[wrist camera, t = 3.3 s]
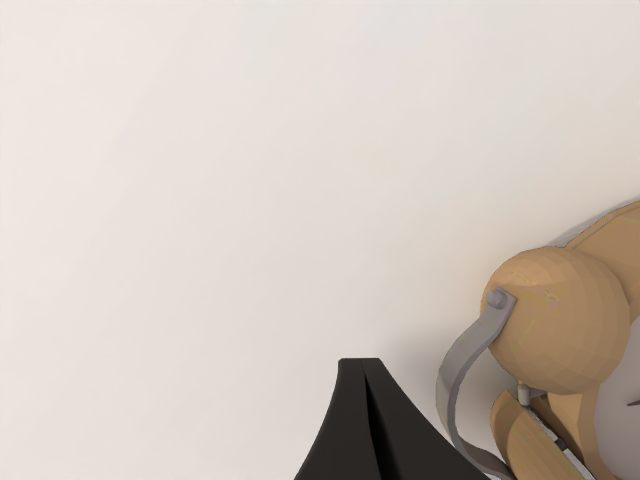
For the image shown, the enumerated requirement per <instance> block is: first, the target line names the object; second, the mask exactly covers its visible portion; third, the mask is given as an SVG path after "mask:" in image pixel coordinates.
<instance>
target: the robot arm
mask: <svg viewBox="0 0 640 480" xmlns="http://www.w3.org/2000/svg"><path fill="white" fill-rule="evenodd" d="M294 480H491V479H490V478H489V477H487V476H486V475H485V474H484V473H483V472H481V471H480V470H479V469H478V468H476V467H475V466H474V465H473V464H472V463H471V462H469V461H468V460H467V459H466V458H465V457H464V456H463V455H462V454H461V453H459V452H458V451H457V450H456V449H455V448H454V447H453V446H452V445H451V444H450V443H449V442H448V441H447V440H446V439H445V438H444V437H443V436H442V435H441V434H440V433H439V432H438V431H437V430H436V429H435V428H434V427H433V426H432V424H431V423H430V422H429V421H428V420H427V419H426V418H425V417H424V416H423V415H422V413H421V412H420V411H419V410H418V409H417V408H416V406H415V405H414V404H413V403H412V402H411V400H410V399H409V398H408V397H407V395H406V394H405V393H404V392H403V390H402V389H401V388H400V387H399V385H398V384H397V383H396V381H395V380H394V378H393V377H392V376H391V374H390V373H389V371H388V370H387V369H386V367H385V366H384V364H383V363H382V361H381V360H380V359H379V358H342V359H340V360H339V361H338V375H337V380H336V385H335V389H334V392H333V395H332V399H331V402H330V405H329V408H328V410H327V413H326V416H325V418H324V421H323V423H322V426H321V428H320V430H319V433H318V435H317V437H316V439H315V441H314V443H313V445H312V447H311V449H310V451H309V453H308V455H307V457H306V459H305V461H304V463H303V464H302V466H301V468H300V470H299V472H298V473H297V475H296V477H295V478H294Z"/></svg>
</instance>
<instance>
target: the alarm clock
mask: <svg viewBox="0 0 640 480" xmlns="http://www.w3.org/2000/svg"><path fill="white" fill-rule="evenodd" d="M487 347H488V348H489V350H490V351H491V353H492V354H493V355H494V357H495V358H496V360H497V361H498V362H499V364H500V365H501V367H503V368H504V369H505V370H506V371H508V372H509V373H510V374H512V375H513V376H514V377H516V378H517V379H518V383H519V384H518V386H517V389H518V393H517V394H518V401H519V402H518V401H517V400H516V399H515V398H514V397H513V396H512V395H511V394H510V393H509V392H508V391H507V390H505V391H504V392H503V393H502V394H500V395H499V397H498V398H497V399H496V401H495V402H494V404H493V407H492V409H491V416H490V421H491V429H492V433H493V436H494V439H495V442H496V445H497V447H498V449H499V451H500V453H501V455H502V457H503V459H504V461H505V462H506V464H507V465H506V464H505V463H504V462H503V461H501V460H500V459H499V458H498V457H497V456H495V455H493V454H492V453H490V452H488V451H486V450H483V449H480V448H477V447H475V446H473V445H471V444H469V443H468V442H466V441H464V440H463V439H462V438H461V437H460V436H459V435H458V432H457V428H456V425H455V404H456V399H457V395H458V390H459V386H460V384H461V382H462V380H463V378H464V376H465V374H466V372H467V370H468V369H469V367H470V366H471V365H472V363H473V362H474V361H475V359H476V358H477V357H478V355H479V354H481V353H482V352H483V351H484V350H485V349H486V348H487ZM520 404H522V405H525V406H526V405H529V406H530V408H531V409H532V410H533V411H534V413H535V414H536V415H537V417H538V418H539V419H540V420H541V422H542V423H543V424H544V425H545V426H546V427H547V428H548V429H550V430H551V431H552V432H553V433H554V434H555V435H556V436H557V437H558V438H559V439H558V440H556V441H555V442H553V441H552V439H551V438H550V437H549V436H548V435H547V434H546V433H545V431H544V430H543V429H542V428H541V427H540V426H539V425H538V424H537V422H536V421H535V420H534V419H533V418H532V417H531V416H530V415H529V413H528V412H527V411H526V410H525V409H524V408H523V407H522V406H521V405H520ZM436 407H437V410H438V413H439V417H440V420H441V422H442V424H443V426H444V428H445V429H446V431H447V433H448V435H449V437H450V438H451V440H452V442H453V444H454V446H455V447H456V449H457V451H458V452H459V453H461V454H462V455H463V456H464V457H465V458H466V459H467V460H468V461H469V462H471V463H472V464H473V465H474V466H475V467H476V468H478V469H479V470H480V471H482V472H484V473H487V474H490V475H493V476H496V477H498V478H501V480H586V479H585V478H584V477H583V475H582V474H581V473H580V472H579V471H578V470H577V468H576V467H575V466H574V465H573V464H572V463H571V461H570V460H569V459H568V458H567V457H566V456H565V454H564V453H563V451H564V450H566V449H567V448H568V449H569V450H570V451H571V452H572V453H573V454H574V455H575V456H576V458H577V459H578V460H579V461H580V462H581V463H582V464H583V465H584V466H585V467H586V468H587V469H588V471H589V472H590V473H591V474H592V476H593V477H594V478H595V480H640V201H638V202H635V203H633V204H630V205H628V206H625V207H622V208H620V209H617V210H615V211H612V212H610V213H608V214H607V215H606V216H604V217H603V218H602V219H600V220H599V221H598V222H596V223H595V224H594V225H592V226H591V227H590V228H588V229H587V230H585V231H584V232H583V233H581V234H580V235H579V236H577V237H576V238H575V239H573V240H572V241H571V242H569V243H568V244H567V245H566V246H565V248H561V247H542V248H537V249H532V250H527V251H524V252H521V253H519V254H517V255H516V256H514V257H512V258H511V259H509V260H507V261H506V262H504V263H503V264H502V265H501V266H500V267H499V268H498V270H497V271H496V272H495V273H494V274H493V275H492V277H491V278H490V280H489V282H488V284H487V286H486V287H485V290H484V293H483V297H482V300H481V310H480V318H479V319H478V320H477V321H476V322H475V323H474V324H473V325H472V326H470V327H469V328H468V329H467V330H466V331H465V332H464V333H463V334H462V335H461V336H460V337H459V338H458V339H457V340H456V342H455V343H454V344H453V346H452V347H451V348H450V350H449V351H448V352H447V354H446V356H445V358H444V360H443V362H442V365H441V367H440V369H439V373H438V378H437V384H436Z"/></svg>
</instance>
